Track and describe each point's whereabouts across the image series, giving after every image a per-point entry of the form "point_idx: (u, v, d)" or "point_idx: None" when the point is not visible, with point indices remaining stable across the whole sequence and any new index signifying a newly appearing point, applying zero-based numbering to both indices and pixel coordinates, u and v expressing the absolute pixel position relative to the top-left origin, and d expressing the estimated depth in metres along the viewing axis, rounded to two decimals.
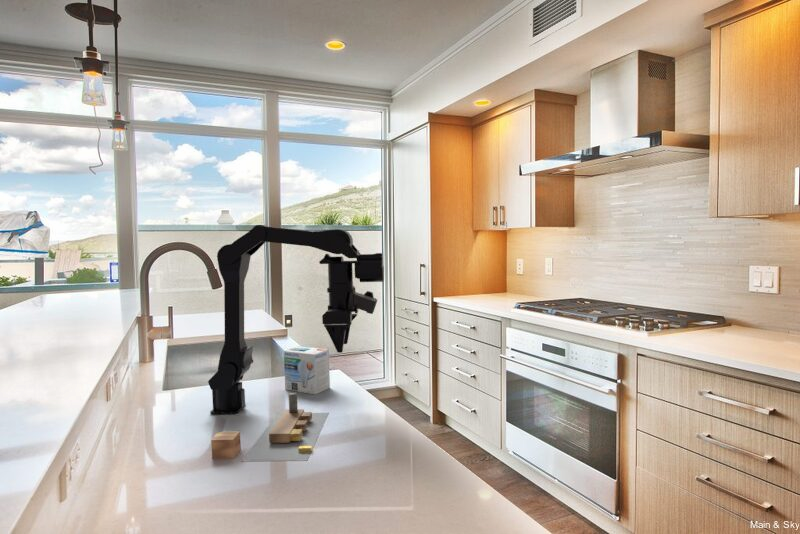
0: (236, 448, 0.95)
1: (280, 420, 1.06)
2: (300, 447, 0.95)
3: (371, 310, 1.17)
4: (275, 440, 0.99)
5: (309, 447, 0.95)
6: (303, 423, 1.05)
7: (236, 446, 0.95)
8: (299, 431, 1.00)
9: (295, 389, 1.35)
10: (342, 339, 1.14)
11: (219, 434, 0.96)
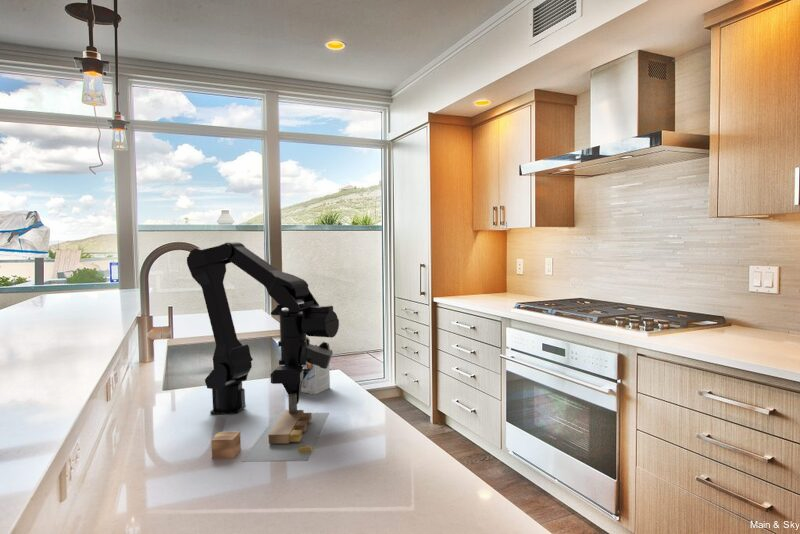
0: (236, 448, 0.95)
1: (279, 421, 1.06)
2: (300, 447, 0.95)
3: (325, 365, 1.11)
4: (274, 441, 0.99)
5: (309, 447, 0.95)
6: (303, 424, 1.04)
7: (236, 446, 0.95)
8: (299, 432, 1.00)
9: None
10: (298, 390, 1.12)
11: (220, 434, 0.96)
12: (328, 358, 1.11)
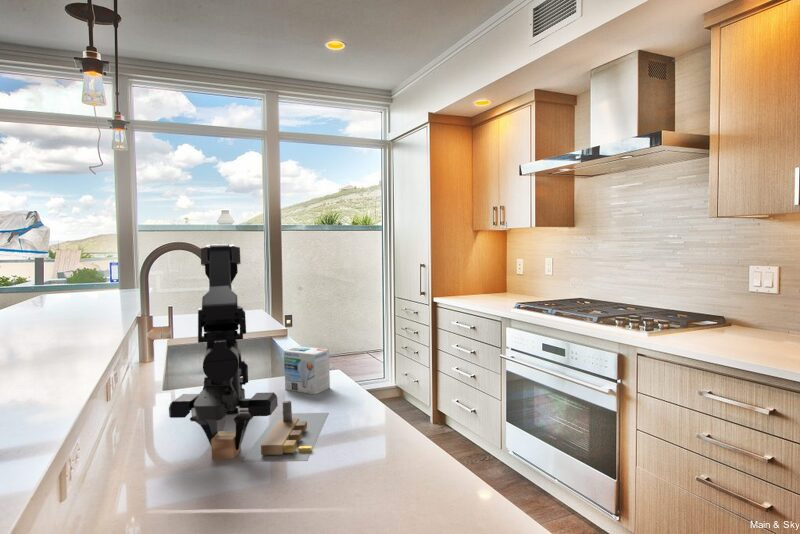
0: None
1: (273, 430, 1.01)
2: (300, 447, 0.95)
3: (196, 415, 0.88)
4: (267, 452, 0.94)
5: (309, 447, 0.95)
6: (297, 433, 0.99)
7: None
8: (293, 442, 0.95)
9: (295, 389, 1.35)
10: None
11: (220, 433, 0.96)
12: (195, 408, 0.87)
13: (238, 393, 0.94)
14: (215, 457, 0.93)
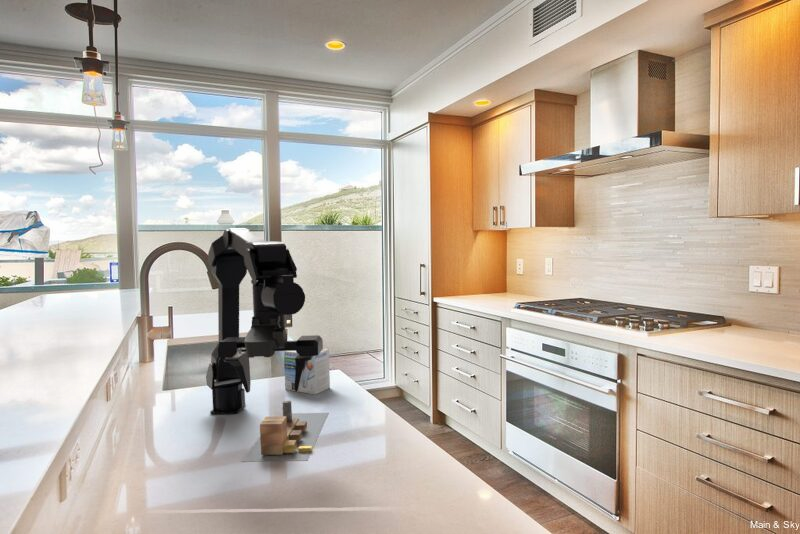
0: (284, 432, 0.95)
1: None
2: (300, 447, 0.95)
3: (246, 352, 0.87)
4: (267, 452, 0.94)
5: (309, 447, 0.95)
6: (297, 433, 0.99)
7: (284, 431, 0.95)
8: (293, 442, 0.95)
9: None
10: None
11: (267, 419, 0.96)
12: (245, 345, 0.86)
13: None
14: (264, 442, 0.94)
